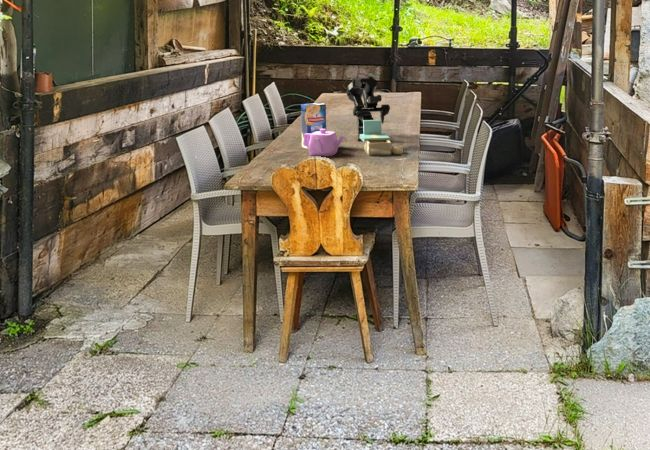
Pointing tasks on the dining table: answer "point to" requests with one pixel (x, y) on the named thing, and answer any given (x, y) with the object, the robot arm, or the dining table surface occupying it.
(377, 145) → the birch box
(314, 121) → the beverage box
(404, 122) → the dining table surface
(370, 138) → the teal l-shaped bracket
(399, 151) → the tape roll
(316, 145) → the teakettle
